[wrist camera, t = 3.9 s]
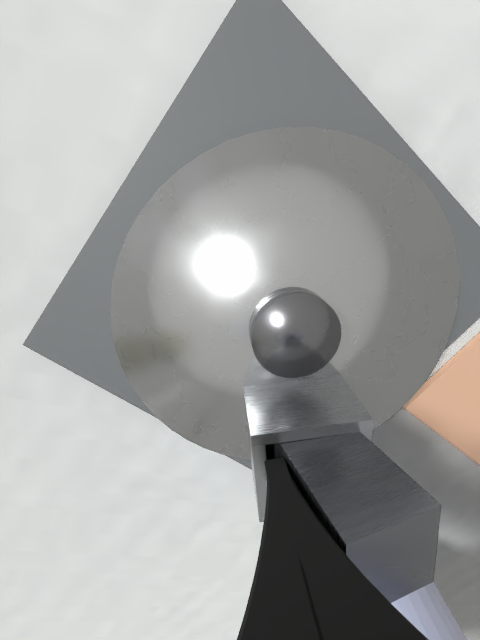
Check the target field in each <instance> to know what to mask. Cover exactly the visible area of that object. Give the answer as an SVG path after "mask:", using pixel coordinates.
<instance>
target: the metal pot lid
mask: <svg viewBox="0 0 480 640" xmlns="http://www.w3.org/2000/svg"><path fill="white" fill-rule="evenodd" d="M459 287H460V283H459V262H458V256H457V250H456V244H455V240H454V237H453V234H452V231H451V228H450V225H449V222H448V220H447V218H446V216H445V214H444V212H443V210H442V208H441V206H440V204H439V202H438V200H437V199H436V197H435V196H434V195H433V193H432V192H431V190H430V189H429V188H428V186H427V185H426V184H425V182H424V181H423V180H422V179H421V178H420V177H419V176H418V175H417V174H416V173H415V172H414V171H413V170H412V169H411V168H410V167H409V166H408V165H407V164H406V163H404V162H403V161H401V160H400V159H399V158H397V157H396V156H394V155H393V154H392V153H390V152H389V151H387V150H386V149H384V148H382V147H380V146H378V145H376V144H374V143H372V142H370V141H368V140H366V139H364V138H361V137H357V136H354V135H351V134H348V133H344V132H341V131H338V130H331V129H324V128H316V127H280V128H274V129H268V130H263V131H257V132H253V133H249V134H246V135H243V136H240V137H237V138H234V139H231V140H228V141H226V142H224V143H222V144H220V145H218V146H216V147H214V148H212V149H210V150H208V151H206V152H204V153H202V154H200V155H199V156H197V157H196V158H195V159H193V160H192V161H190V162H189V163H187V164H186V165H185V166H183V167H182V168H180V169H179V170H178V171H177V172H176V173H174V174H173V175H172V176H171V177H170V178H169V179H168V180H167V181H166V182H165V183H164V184H163V185H162V186H161V187H160V188H159V189H158V190H157V191H156V192H155V193H154V195H153V196H152V197H151V198H150V200H149V201H148V202H147V203H146V205H145V206H144V207H143V208H142V210H141V211H140V213H139V214H138V216H137V218H136V220H135V221H134V223H133V225H132V226H131V228H130V230H129V232H128V233H127V236H126V238H125V241H124V243H123V246H122V248H121V251H120V253H119V256H118V259H117V263H116V267H115V271H114V275H113V279H112V287H111V298H110V316H111V329H112V334H113V339H114V344H115V349H116V352H117V355H118V357H119V360H120V363H121V366H122V369H123V371H124V373H125V374H126V376H127V378H128V380H129V382H130V384H131V386H132V388H133V389H134V390H135V392H136V393H137V395H138V396H139V398H140V399H141V400H142V402H143V403H144V404H145V405H146V406H147V407H148V409H149V410H150V411H151V412H152V413H153V414H154V415H155V416H156V417H157V418H158V419H159V420H161V421H162V422H163V423H164V424H165V425H166V426H168V427H169V428H170V429H171V430H173V431H174V432H176V433H178V434H179V435H181V436H182V437H184V438H185V439H187V440H189V441H191V442H193V443H195V444H197V445H199V446H201V447H203V448H206V449H209V450H211V451H214V452H217V453H220V454H224V455H228V456H232V457H236V458H242V459H250V460H251V465H252V472H253V479H254V486H255V493H256V500H257V507H258V514H259V521H260V522H264V517H265V507H266V494H267V475H266V469H265V463H264V461H266V450H265V445H267V444H274V443H282V442H289V441H297V440H304V439H312V438H319V437H327V436H334V435H341V434H349V433H356V432H361V433H362V434H363V435H364V436H365V437H366V438H368V439H369V440H370V441H371V442H372V432H373V430H374V429H376V428H377V427H379V426H380V425H382V424H383V423H384V422H386V421H387V420H388V419H389V418H391V417H392V416H393V415H394V414H396V413H397V412H398V411H399V410H400V409H401V408H402V407H403V406H404V405H405V404H406V403H407V402H408V401H409V400H410V399H411V398H412V397H413V396H414V395H415V394H416V392H417V391H418V390H419V389H420V387H421V386H422V385H423V384H424V383H425V381H426V380H427V378H428V377H429V375H430V374H431V372H432V371H433V369H434V368H435V366H436V364H437V362H438V360H439V358H440V356H441V354H442V352H443V351H444V349H445V346H446V344H447V341H448V338H449V336H450V333H451V330H452V327H453V323H454V319H455V315H456V311H457V305H458V296H459Z"/></svg>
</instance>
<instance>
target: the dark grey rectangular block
mask: <svg viewBox="0 0 480 640" xmlns="http://www.w3.org/2000/svg"><path fill="white" fill-rule="evenodd" d="M265 450H266V460H272V459H277V458H282V457H284V460H285V462H286V465H287V468H288V472H289V473H290V475H291V477H292V479H293V481H294V483H295V484H296V486H297V488H298V489H299V491H300V493H301V494H302V496H303V497H304V499H305V500H306V502H307V503H308V505H309V506H310V508H311V509H312V511H313V512H314V514H315V515H316V517H317V518H318V519H319V521H320V522H321V524H322V525H323V526H324V528H325V529H326V530H327V532H328V533H329V534H330V535H331V537H332V538H333V539H334V541H335V542H336V543H337V544H338V546H339V547H340V548H341V549H342V550H343V552H344V553H345V554H346V555H347V556H348V558H349V559H350V560H351V561H352V562H353V563H354V564H355V566H356V567H357V568H358V569H359V570H360V571H361V572H362V574H363V575H364V576H365V577H366V578H367V579H368V580H369V581H370V582H371V583H372V584H373V585H374V586H375V587H376V588H377V589H378V590H379V591H380V593H381V594H382V595H383V596H384V597H385V598H386V599H387V600H388V601H389V602H390V603H392V602H394V601H396V600H398V599H400V598H402V597H404V596H406V595H408V594H410V593H412V592H414V591H416V590H418V589H420V588H422V587H424V586H426V585H428V584H430V583H432V582H433V580H434V570H435V561H436V551H437V541H438V531H439V521H440V512H441V504H439V503H438V502H437V501H436V500H435V499H434V498H433V497H432V496H431V495H430V494H428V493H427V492H426V491H425V490H424V489H423V488H422V487H421V486H420V485H418V484H417V483H416V482H415V481H414V480H413V479H412V478H411V477H410V476H409V475H407V474H406V473H405V472H404V471H403V470H402V469H401V468H400V467H399V466H397V465H396V464H395V463H394V462H393V461H392V460H391V459H390V458H389V457H387V456H386V455H385V454H384V453H383V452H382V451H381V450H380V449H379V448H378V447H376V446H375V445H374V444H373V443H372V442H371V441H370V440H369V439H368V438H366V437H365V436H364V435H363V434H362V433H361V432H356V433H349V434H341V435H334V436H327V437H319V438H312V439H304V440H297V441H289V442H282V443H274V444H267V445H265Z"/></svg>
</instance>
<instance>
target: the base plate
mask: <svg viewBox="0 0 480 640" xmlns="http://www.w3.org/2000/svg"><path fill="white" fill-rule="evenodd" d="M280 127H316V128H324V129H331V130H338V131H341V132H344V133H348V134H351V135H354V136H357V137H361V138H364V139H366V140H368V141H370V142H372V143H374V144H376V145H378V146H380V147H382V148H384V149H386V150H387V151H389V152H390V153H392V154H393V155H394V156H396V157H397V158H399V159H400V160H401V161H403V162H404V163H406V164H407V165H408V166H409V167H410V168H411V169H412V170H413V171H414V172H415V173H416V174H417V175H418V176H419V177H420V178H421V179H422V180H423V181H424V182H425V184H426V185H427V186H428V188H429V189H430V190H431V192H432V193H433V195H434V196H435V197H436V199H437V200H438V202H439V204H440V206H441V208H442V210H443V212H444V214H445V216H446V218H447V220H448V222H449V225H450V228H451V231H452V234H453V237H454V240H455V244H456V250H457V256H458V262H459V283H460V287H459V296H458V305H457V311H456V315H455V319H454V323H453V327H452V330H451V333H450V336H449V338H448V341H447V344H446V346H445V349H446V348H447V347H448V346H450V345H451V344H452V343H453V342H454V341H455V340H456V339H457V338H458V337H459V336H460V335H461V334H462V333H463V332H464V331H466V330H467V329H468V328H469V327H470V326H471V325H472V324H473V323H474V322H475V321H476V320H477V319H478V318H479V317H480V227H479V225H478V224H477V223H476V222H475V221H474V220H473V219H472V218H471V216H470V215H469V214H468V213H467V212H466V211H465V210H464V208H463V207H462V206H461V205H460V204H459V203H458V202H457V200H456V199H455V198H454V197H453V196H452V195H451V194H450V192H449V191H448V190H447V189H446V188H445V187H444V186H443V184H442V183H441V182H440V181H439V180H438V179H437V178H436V176H435V175H434V174H433V173H432V172H431V171H430V170H429V168H428V167H427V166H426V165H425V164H424V163H423V162H422V160H421V159H420V158H419V157H418V156H417V155H416V154H415V152H414V151H413V150H412V149H411V148H410V147H409V146H408V144H407V143H406V142H405V141H404V140H403V139H402V138H401V136H400V135H399V134H398V133H397V132H396V131H395V130H394V128H393V127H392V126H391V125H390V124H389V123H388V122H387V120H386V119H385V118H384V117H383V116H382V115H381V114H380V112H379V111H378V110H377V109H376V108H375V107H374V106H373V104H372V103H371V102H370V101H369V100H368V99H367V98H366V96H365V95H364V94H363V93H362V92H361V91H360V90H359V88H358V87H357V86H356V85H355V84H354V83H353V82H352V80H351V79H350V78H349V77H348V76H347V75H346V74H345V72H344V71H343V70H342V69H341V68H340V67H339V66H338V64H337V63H336V62H335V61H334V60H333V59H332V58H331V56H330V55H329V54H328V53H327V52H326V51H325V50H324V48H323V47H322V46H321V45H320V44H319V43H318V42H317V40H316V39H315V38H314V37H313V36H312V35H311V34H310V32H309V31H308V30H307V29H306V28H305V27H304V26H303V24H302V23H301V22H300V21H299V20H298V19H297V18H296V16H295V15H294V14H293V13H292V12H291V11H290V10H289V8H288V7H287V6H286V5H285V4H284V3H283V2H282V1H281V0H236V2H235V3H234V5H233V7H232V8H231V10H230V11H229V13H228V15H227V16H226V18H225V19H224V21H223V23H222V24H221V26H220V27H219V29H218V31H217V32H216V34H215V36H214V37H213V39H212V40H211V42H210V44H209V45H208V47H207V48H206V50H205V52H204V53H203V55H202V56H201V58H200V60H199V61H198V63H197V65H196V66H195V68H194V69H193V71H192V73H191V74H190V76H189V77H188V79H187V81H186V82H185V84H184V86H183V87H182V89H181V90H180V92H179V94H178V95H177V97H176V98H175V100H174V102H173V103H172V105H171V106H170V108H169V110H168V111H167V113H166V115H165V116H164V118H163V119H162V121H161V123H160V124H159V126H158V127H157V129H156V131H155V132H154V134H153V136H152V137H151V139H150V140H149V142H148V144H147V145H146V147H145V148H144V150H143V152H142V153H141V155H140V156H139V158H138V160H137V161H136V163H135V165H134V166H133V168H132V169H131V171H130V173H129V174H128V176H127V177H126V179H125V181H124V182H123V184H122V186H121V187H120V189H119V190H118V192H117V194H116V195H115V197H114V198H113V200H112V202H111V203H110V205H109V206H108V208H107V210H106V211H105V213H104V215H103V216H102V218H101V219H100V221H99V223H98V224H97V226H96V227H95V229H94V231H93V232H92V234H91V236H90V237H89V239H88V240H87V242H86V244H85V245H84V247H83V248H82V250H81V252H80V253H79V255H78V256H77V258H76V260H75V261H74V263H73V265H72V266H71V268H70V269H69V271H68V273H67V274H66V276H65V277H64V279H63V281H62V282H61V284H60V285H59V287H58V289H57V290H56V292H55V294H54V295H53V297H52V298H51V300H50V302H49V303H48V305H47V306H46V308H45V310H44V311H43V313H42V315H41V316H40V318H39V319H38V321H37V323H36V324H35V326H34V327H33V329H32V331H31V332H30V334H29V335H28V337H27V339H26V340H25V342H24V344H23V345H24V346H26V347H28V348H30V349H31V350H33V351H35V352H37V353H39V354H41V355H42V356H44V357H46V358H48V359H50V360H52V361H53V362H55V363H57V364H59V365H61V366H63V367H64V368H66V369H68V370H70V371H72V372H74V373H75V374H77V375H79V376H81V377H83V378H85V379H86V380H88V381H90V382H92V383H94V384H96V385H97V386H99V387H101V388H103V389H105V390H107V391H108V392H110V393H112V394H114V395H116V396H118V397H119V398H121V399H123V400H125V401H127V402H129V403H130V404H132V405H134V406H136V407H138V408H140V409H141V410H143V411H145V412H147V413H149V414H151V415H152V416H154V417H156V416H155V415H154V414H153V413H152V412H151V411H150V410H149V409H148V407H147V406H146V405H145V404H144V403H143V402H142V400H141V399H140V398H139V396H138V395H137V393H136V392H135V390H134V389H133V388H132V386H131V384H130V382H129V380H128V378H127V376H126V374H125V373H124V371H123V369H122V366H121V363H120V360H119V357H118V355H117V352H116V349H115V344H114V339H113V334H112V329H111V316H110V298H111V287H112V279H113V275H114V271H115V267H116V263H117V259H118V256H119V253H120V251H121V248H122V246H123V243H124V241H125V238H126V236H127V233H128V232H129V230H130V228H131V226H132V225H133V223H134V221H135V220H136V218H137V216H138V214H139V213H140V211H141V210H142V208H143V207H144V206H145V205H146V203H147V202H148V201H149V200H150V198H151V197H152V196H153V195H154V193H155V192H156V191H157V190H158V189H159V188H160V187H161V186H162V185H163V184H164V183H165V182H166V181H167V180H168V179H169V178H170V177H171V176H172V175H173V174H174V173H176V172H177V171H178V170H179V169H180V168H182V167H183V166H185V165H186V164H187V163H189V162H190V161H192V160H193V159H195V158H196V157H197V156H199V155H200V154H202V153H204V152H206V151H208V150H210V149H212V148H214V147H216V146H218V145H220V144H222V143H224V142H226V141H228V140H231V139H234V138H237V137H240V136H243V135H246V134H249V133H253V132H257V131H263V130H268V129H274V128H280ZM445 349H444V350H445ZM156 418H157V417H156ZM226 456H228V455H226ZM228 457H229V458H231V459H233V460H235V461H237V462H239V463H240V464H242V465H244V466H246V467H248V468H250V469H251V470H252V465H251V460H250V459H242V458H236V457H232V456H228Z"/></svg>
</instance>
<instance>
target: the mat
mask: <svg viewBox="0 0 480 640" xmlns="http://www.w3.org/2000/svg"><path fill="white" fill-rule="evenodd" d="M403 408H404V409H406V410H407V411H408V412H410V413H411V414H412V415H413V416H415V417H416V418H417V419H419V420H420V421H421V422H423V423H424V424H425V425H427V426H428V427H429V428H431V429H432V430H433V431H435V432H436V433H437V434H439V435H440V436H441V437H443V438H444V439H445V440H447V441H448V442H449V443H451V444H452V445H453V446H455V447H456V448H457V449H459V450H460V451H461V452H463V453H464V454H465V455H466V456H468V457H469V458H470V459H472V460H473V461H474V462H476V463H477V464H478V465H480V333H478V334H477V335H476V336H475V337H474V338H473V339H472V340H471V341H470V342H469V343H468V344H466V345H465V346H464V347H463V348H462V349H461V350H460V351H459V352H458V353H457V354H456V355H455V356H453V357H452V358H451V359H450V360H449V361H448V362H447V363H446V364H445V365H444V366H443V367H441V368H440V369H439V370H438V371H437V372H436V373H435V374H434V375H433V376H432V377H431V378H429V379H428V380H427V381H426V382H425V383H424V384H423V385H422V386H421V387H420V389H419V390H418V391H417V392H416V394H415V395H414V396H413V397H412V398H411V399H410V400H409V401H408V402H407V403H406V404H405V405H404V406H403Z"/></svg>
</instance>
